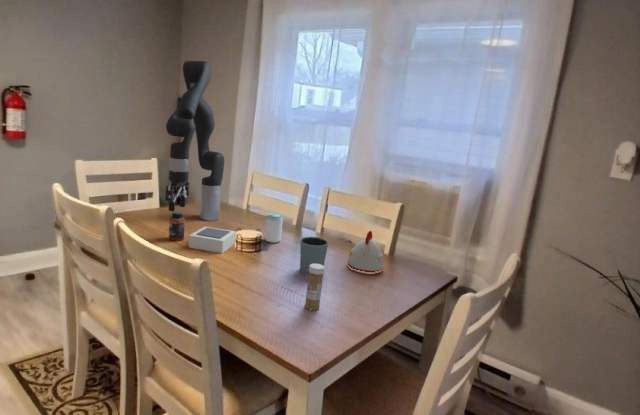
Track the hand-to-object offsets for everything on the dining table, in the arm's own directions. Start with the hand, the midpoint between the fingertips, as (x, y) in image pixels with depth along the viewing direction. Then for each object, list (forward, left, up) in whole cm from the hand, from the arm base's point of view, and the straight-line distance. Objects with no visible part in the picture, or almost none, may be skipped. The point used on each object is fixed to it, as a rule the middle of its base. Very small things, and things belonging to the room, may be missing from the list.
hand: (177, 208), depth 170 cm
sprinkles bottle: (+38, +65, -13) cm, 77 cm away
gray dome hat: (-4, +78, -13) cm, 79 cm away
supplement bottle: (0, 0, -13) cm, 13 cm away
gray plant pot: (+10, +59, -13) cm, 61 cm away
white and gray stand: (0, +16, -13) cm, 21 cm away
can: (-18, +36, -13) cm, 43 cm away
